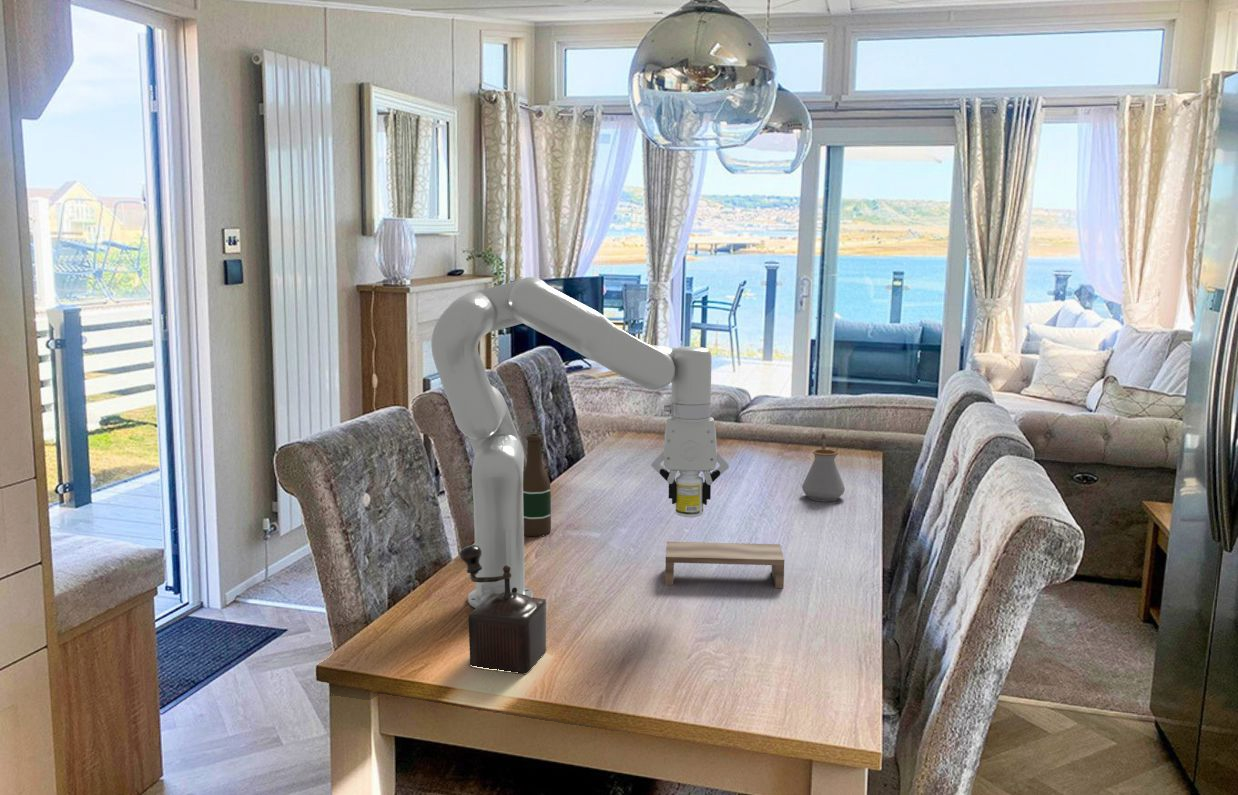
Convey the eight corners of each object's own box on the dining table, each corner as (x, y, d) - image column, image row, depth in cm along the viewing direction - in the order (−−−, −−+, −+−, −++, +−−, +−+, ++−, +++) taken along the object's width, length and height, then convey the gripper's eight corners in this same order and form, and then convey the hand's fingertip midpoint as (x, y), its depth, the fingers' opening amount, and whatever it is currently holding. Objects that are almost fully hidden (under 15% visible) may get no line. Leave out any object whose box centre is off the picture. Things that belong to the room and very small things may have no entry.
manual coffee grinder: (550, 648, 169) (549, 548, 166) (526, 675, 159) (525, 570, 156) (467, 637, 174) (465, 540, 171) (440, 664, 163) (436, 560, 160)
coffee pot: (845, 504, 259) (847, 449, 257) (801, 502, 261) (803, 447, 259) (842, 484, 280) (844, 433, 277) (801, 482, 282) (803, 431, 279)
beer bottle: (546, 538, 230) (545, 438, 226) (514, 536, 231) (513, 437, 227) (555, 528, 237) (554, 432, 233) (524, 526, 239) (523, 430, 235)
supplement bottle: (686, 508, 194) (686, 460, 193) (708, 513, 191) (709, 464, 189) (669, 514, 190) (670, 465, 189) (692, 519, 187) (693, 470, 185)
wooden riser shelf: (783, 588, 198) (784, 559, 197) (665, 584, 200) (665, 556, 199) (779, 571, 208) (779, 544, 207) (666, 568, 209) (666, 541, 208)
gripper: (645, 414, 184) (644, 506, 187) (736, 415, 183) (734, 509, 186) (647, 407, 192) (646, 496, 195) (735, 408, 190) (733, 498, 193)
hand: (689, 501), depth 190 cm, fingers closed on supplement bottle, 5 cm apart
